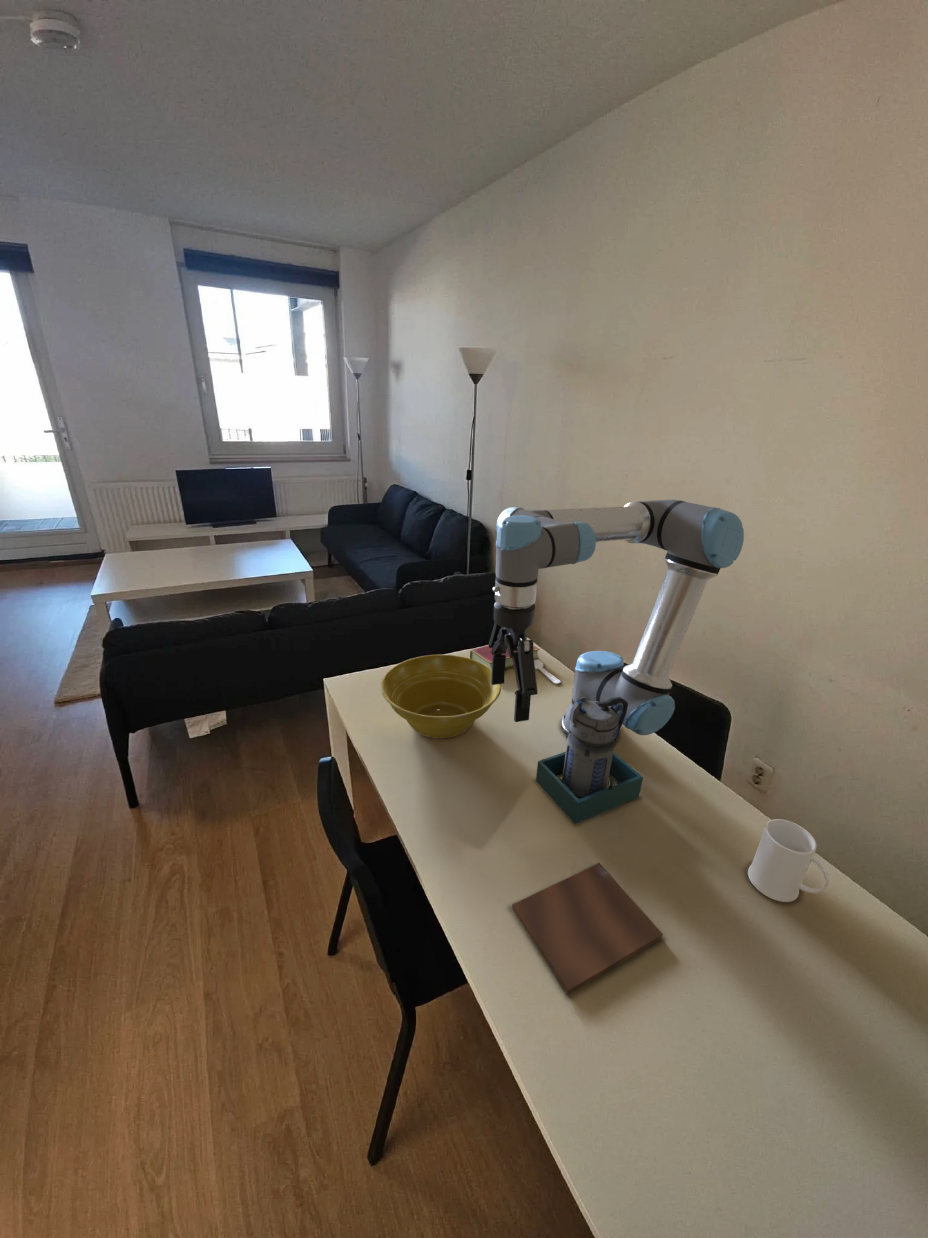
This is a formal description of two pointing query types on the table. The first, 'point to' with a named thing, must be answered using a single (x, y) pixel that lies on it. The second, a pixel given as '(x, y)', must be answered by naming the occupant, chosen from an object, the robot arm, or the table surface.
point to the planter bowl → (440, 693)
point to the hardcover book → (486, 656)
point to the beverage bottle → (592, 744)
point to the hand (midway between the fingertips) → (508, 700)
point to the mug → (784, 861)
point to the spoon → (539, 666)
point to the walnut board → (585, 926)
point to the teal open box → (594, 802)
